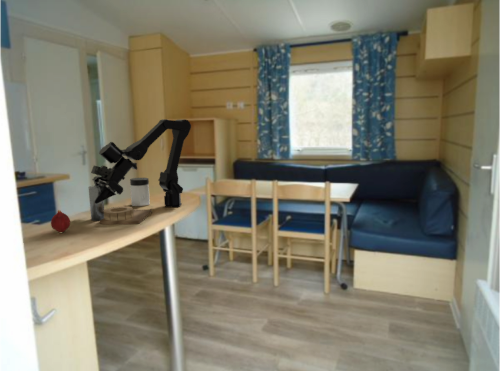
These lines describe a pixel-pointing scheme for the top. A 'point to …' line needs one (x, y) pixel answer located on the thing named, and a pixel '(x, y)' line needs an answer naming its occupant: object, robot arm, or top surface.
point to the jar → (139, 191)
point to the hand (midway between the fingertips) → (93, 201)
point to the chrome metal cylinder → (98, 208)
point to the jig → (124, 215)
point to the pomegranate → (60, 222)
